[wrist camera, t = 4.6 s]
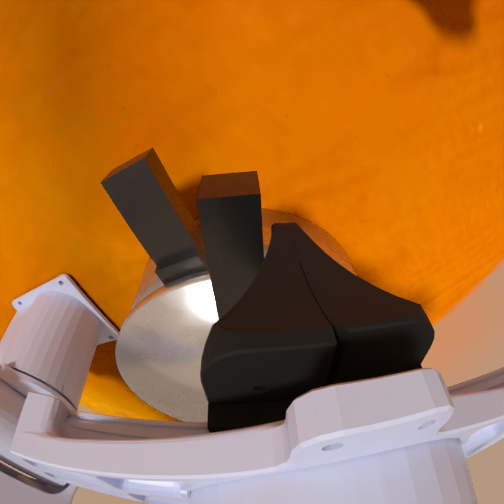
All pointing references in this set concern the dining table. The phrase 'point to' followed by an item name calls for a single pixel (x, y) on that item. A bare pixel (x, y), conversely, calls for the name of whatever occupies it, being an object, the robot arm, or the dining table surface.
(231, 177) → the cooker lid
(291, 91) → the dining table surface
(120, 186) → the cooker pot
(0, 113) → the dining table surface
